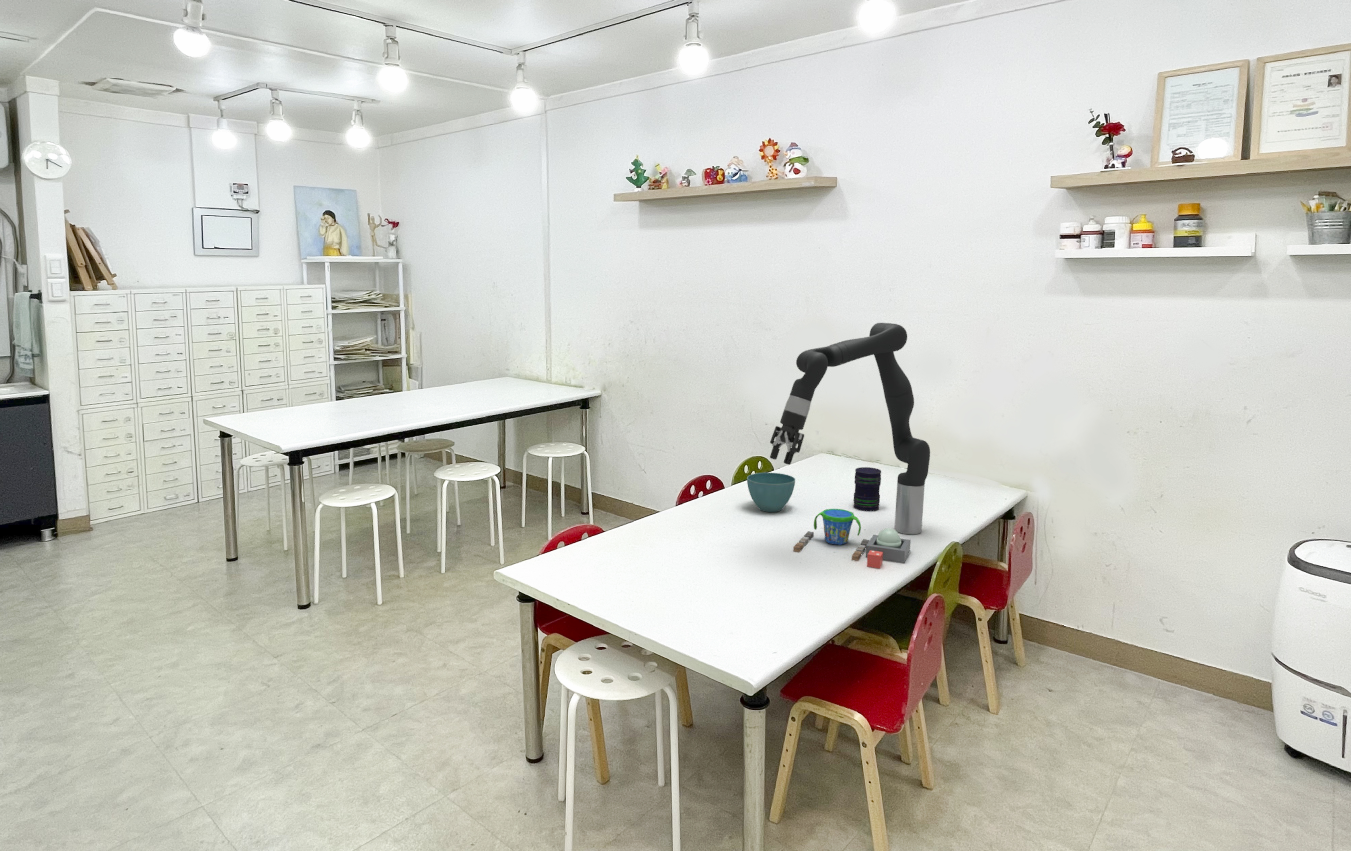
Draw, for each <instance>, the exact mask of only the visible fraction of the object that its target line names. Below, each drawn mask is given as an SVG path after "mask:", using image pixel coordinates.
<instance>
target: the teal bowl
mask: <svg viewBox="0 0 1351 851" xmlns="http://www.w3.org/2000/svg"><path fill="white" fill-rule="evenodd" d="M746 484H747V488H748V492H749V495H750V497H751V499H752V501H753V503H754V504H755V506H756V508H757V509H758V510H760V511H761V512H766V513H775V512H780V511H781V510H783V509H784V507H785V506H786V505H788V502H789V501H790V499H791V497H792V495H793V493H794V489H795V485H796V478H795V477H794V476H793V475H788V474H785V473H780V472H779V473H778V472H756V473H752V474H750V475H748V476H747V477H746Z"/></svg>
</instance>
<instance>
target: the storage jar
mask: <svg viewBox="0 0 1351 851" xmlns="http://www.w3.org/2000/svg"><path fill="white" fill-rule="evenodd" d="M881 484H882V470H881V469H879V468H876V467H868V466H865V467H863V466H862V467H856V468H855V473H854V492H853V508H854V509H855V510H856V511H857V510H858V511H861V512H876V511H879V510H880V507H879V506H880V502H881V501H880V500H881V495H880V487H881Z"/></svg>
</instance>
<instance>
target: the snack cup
mask: <svg viewBox="0 0 1351 851" xmlns="http://www.w3.org/2000/svg"><path fill="white" fill-rule="evenodd" d="M820 516H821V517H822V522H823V532H824V540H825V541H826V542H827V543H828V544H830V545H831V544H832V545H838V546H841V545H845V544H847V543H848V542H849V537H850V533H851V527H852V525H853V522H854V521H855V522H856V523H857V525H858V531H857V536H858V537H859V536H860V533H861V530H862V526H861V521H860V519H859V518H858V517H857V516H855V514H854V512H852V511H850V510H846V509H843V508H828V509H827V508H826V509H824V510H823V511H821V512H819V513H818V514H816V515H815V518H814V520H813V529H814V530H817V529H818V528H817V527H818V526H817V525H818V523H817V519H818V517H820Z"/></svg>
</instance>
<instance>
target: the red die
mask: <svg viewBox="0 0 1351 851" xmlns="http://www.w3.org/2000/svg"><path fill="white" fill-rule="evenodd" d="M866 560H867V562H866V567H868V568H875V569H881V567H882V565H883V561H884V560H883V552H879V551H872V550H870V551H869V553H868V556H867V558H866Z"/></svg>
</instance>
